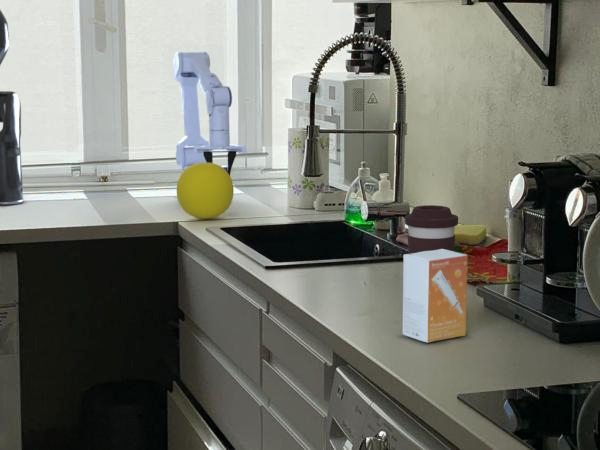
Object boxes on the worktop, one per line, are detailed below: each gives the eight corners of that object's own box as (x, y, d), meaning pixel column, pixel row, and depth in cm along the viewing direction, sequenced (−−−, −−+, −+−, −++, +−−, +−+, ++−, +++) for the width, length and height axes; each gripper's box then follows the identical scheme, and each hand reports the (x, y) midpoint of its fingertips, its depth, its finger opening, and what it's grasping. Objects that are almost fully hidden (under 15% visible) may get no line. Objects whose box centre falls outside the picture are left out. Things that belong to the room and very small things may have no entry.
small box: (427, 344, 159) (428, 260, 157) (401, 334, 164) (401, 253, 162) (467, 335, 164) (468, 254, 161) (440, 327, 169) (441, 247, 167)
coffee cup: (400, 280, 202) (400, 204, 200) (450, 279, 203) (451, 203, 201) (409, 292, 193) (410, 212, 190) (462, 291, 193) (463, 211, 191)
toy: (224, 212, 289) (223, 158, 287) (240, 220, 275) (239, 164, 273) (171, 216, 284) (169, 161, 282) (185, 224, 270) (183, 166, 268)
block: (213, 184, 295) (213, 167, 294) (213, 182, 299) (213, 165, 298) (227, 184, 295) (227, 167, 294) (227, 182, 299) (227, 165, 299)
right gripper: (192, 131, 290) (194, 180, 293) (245, 130, 291) (246, 179, 293) (193, 129, 297) (195, 177, 299) (244, 129, 298) (245, 176, 300)
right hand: (220, 178), depth 297 cm, fingers closed on block, 4 cm apart
